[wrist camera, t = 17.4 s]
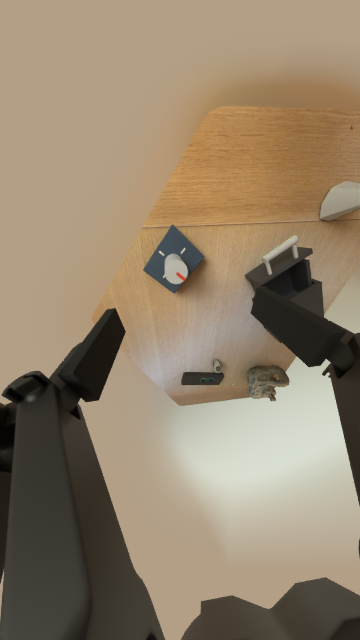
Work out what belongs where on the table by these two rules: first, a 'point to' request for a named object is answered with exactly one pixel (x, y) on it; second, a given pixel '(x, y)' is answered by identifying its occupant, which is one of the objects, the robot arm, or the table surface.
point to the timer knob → (175, 269)
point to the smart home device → (201, 378)
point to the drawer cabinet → (308, 300)
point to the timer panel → (173, 245)
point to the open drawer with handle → (283, 269)
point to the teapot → (265, 381)
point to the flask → (341, 200)
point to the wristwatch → (216, 366)
